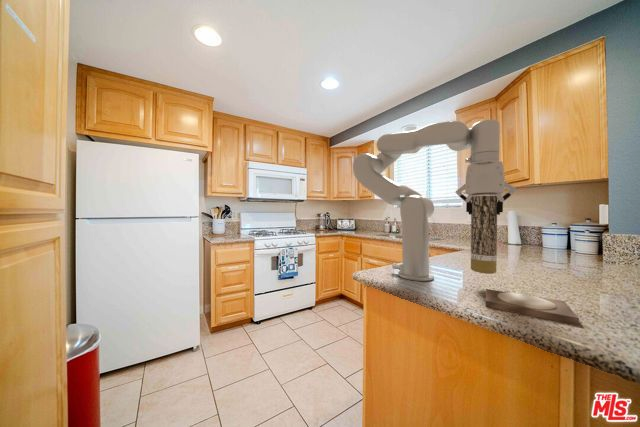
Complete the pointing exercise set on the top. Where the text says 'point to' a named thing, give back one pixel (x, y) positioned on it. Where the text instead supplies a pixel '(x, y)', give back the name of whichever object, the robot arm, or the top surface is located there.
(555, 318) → the walnut board
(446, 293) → the top surface
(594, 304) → the top surface
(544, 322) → the top surface
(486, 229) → the brown cylinder
